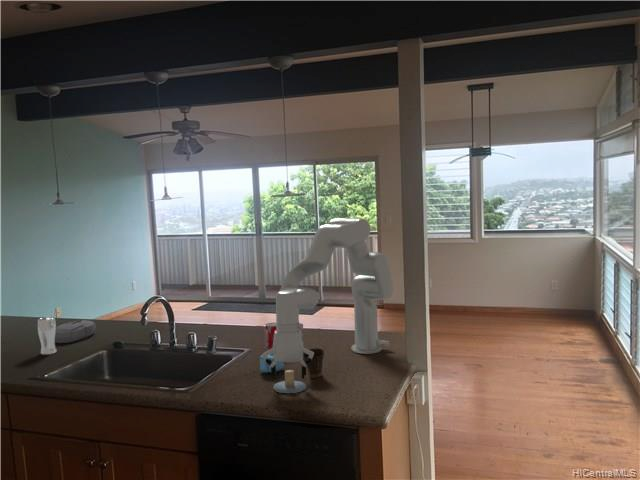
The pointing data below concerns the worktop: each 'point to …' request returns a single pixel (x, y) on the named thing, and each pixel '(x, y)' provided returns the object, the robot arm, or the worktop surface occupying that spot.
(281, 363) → the light blue box
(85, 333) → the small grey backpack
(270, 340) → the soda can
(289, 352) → the robot arm
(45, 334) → the beer glass
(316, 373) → the cup
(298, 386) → the lid
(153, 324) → the worktop surface
